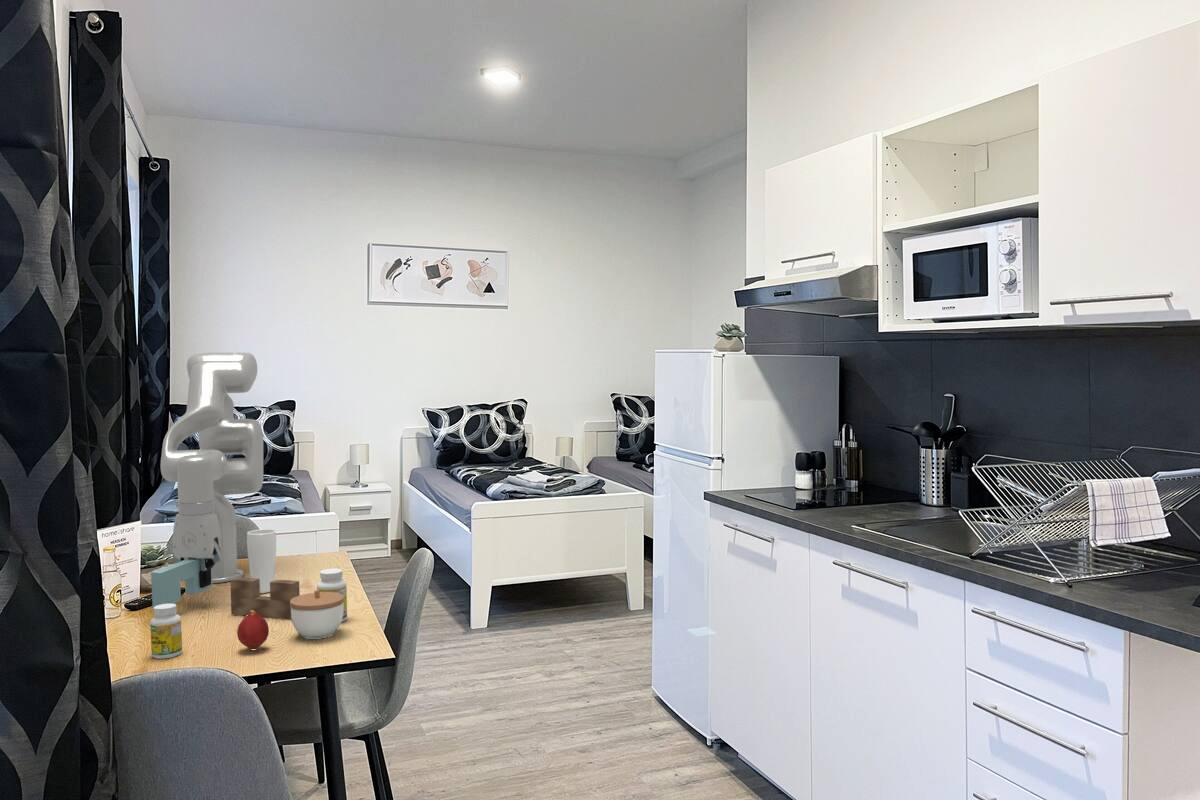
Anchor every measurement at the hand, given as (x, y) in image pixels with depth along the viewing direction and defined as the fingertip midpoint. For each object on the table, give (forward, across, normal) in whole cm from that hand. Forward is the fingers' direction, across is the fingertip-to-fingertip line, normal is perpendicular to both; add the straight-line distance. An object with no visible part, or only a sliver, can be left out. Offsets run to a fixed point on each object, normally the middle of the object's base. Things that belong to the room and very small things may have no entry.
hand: (199, 584), depth 206 cm
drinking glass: (+6, +6, +14) cm, 17 cm away
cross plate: (+1, 0, -5) cm, 6 cm away
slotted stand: (+4, +21, -4) cm, 21 cm away
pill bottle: (+4, +38, -4) cm, 38 cm away
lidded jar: (+3, +40, -14) cm, 43 cm away
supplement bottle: (+3, +18, -32) cm, 37 cm away
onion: (+3, +33, -25) cm, 42 cm away
